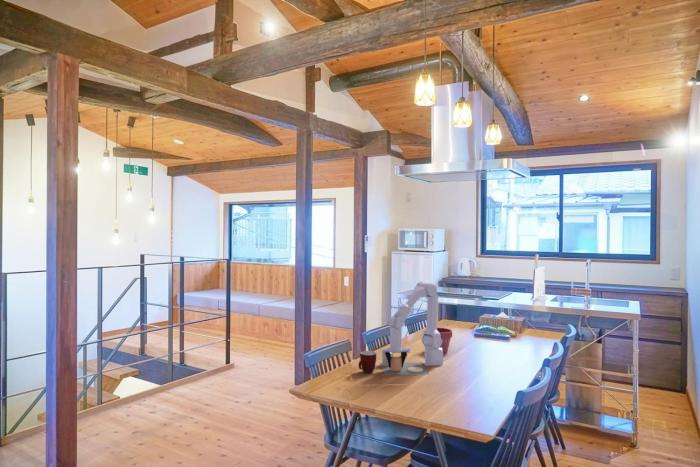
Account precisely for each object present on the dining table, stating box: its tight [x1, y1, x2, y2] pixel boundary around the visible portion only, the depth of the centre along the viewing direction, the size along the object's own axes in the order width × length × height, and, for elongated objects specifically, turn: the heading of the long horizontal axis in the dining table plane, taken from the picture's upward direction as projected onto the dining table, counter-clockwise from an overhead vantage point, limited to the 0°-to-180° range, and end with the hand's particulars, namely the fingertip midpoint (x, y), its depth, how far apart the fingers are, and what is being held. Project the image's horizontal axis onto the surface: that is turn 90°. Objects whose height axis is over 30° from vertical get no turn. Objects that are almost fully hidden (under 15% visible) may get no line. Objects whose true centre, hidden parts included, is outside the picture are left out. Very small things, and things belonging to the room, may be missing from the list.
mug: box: [358, 350, 377, 374], centre depth 225 cm, size 11×8×10 cm
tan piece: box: [390, 354, 402, 371], centre depth 229 cm, size 6×6×6 cm
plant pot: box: [437, 327, 453, 354], centre depth 266 cm, size 14×14×13 cm
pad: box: [407, 367, 423, 372], centre depth 229 cm, size 8×8×1 cm
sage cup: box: [381, 352, 394, 366], centre depth 237 cm, size 6×6×6 cm
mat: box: [379, 361, 430, 376], centre depth 231 cm, size 22×20×1 cm
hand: (395, 366), depth 229 cm, fingers closed on tan piece, 6 cm apart
